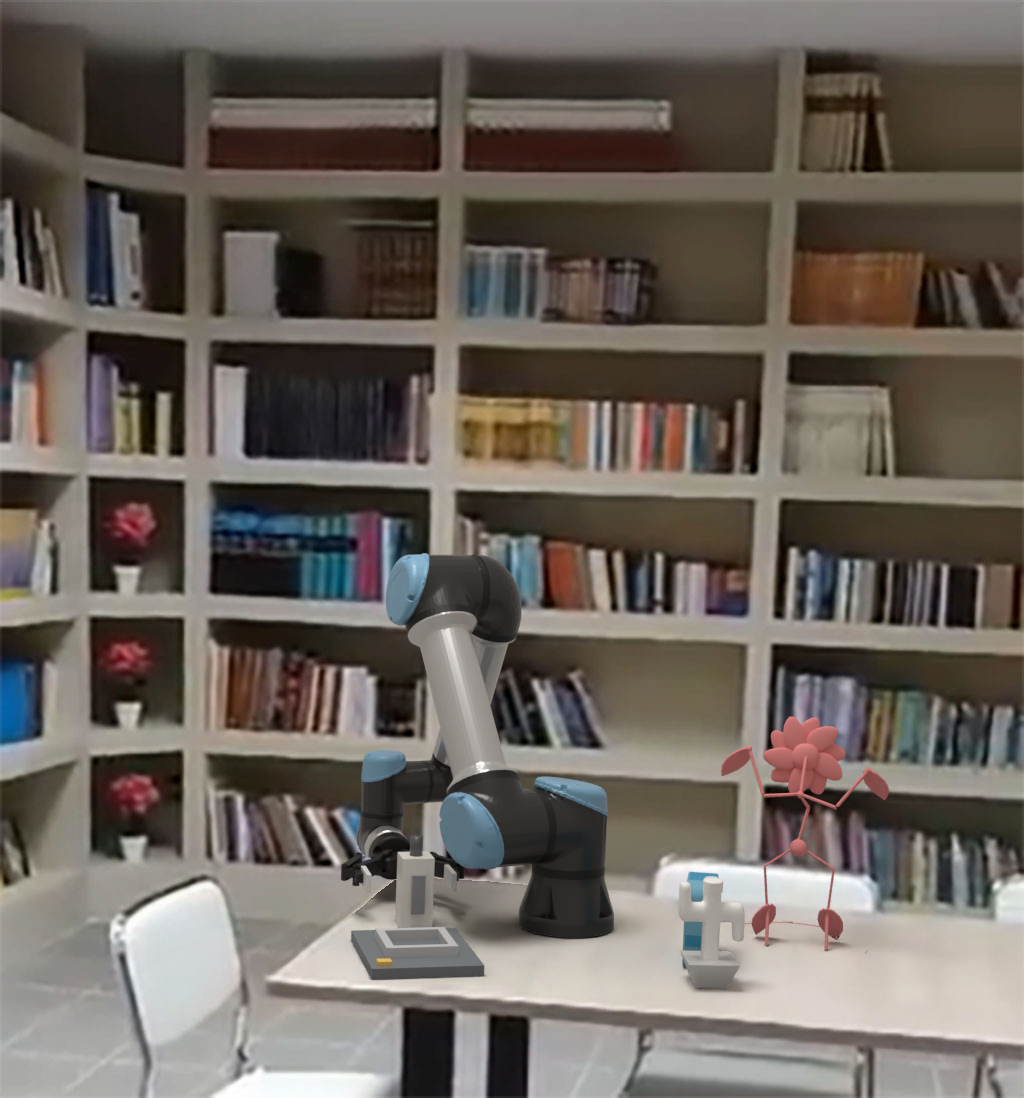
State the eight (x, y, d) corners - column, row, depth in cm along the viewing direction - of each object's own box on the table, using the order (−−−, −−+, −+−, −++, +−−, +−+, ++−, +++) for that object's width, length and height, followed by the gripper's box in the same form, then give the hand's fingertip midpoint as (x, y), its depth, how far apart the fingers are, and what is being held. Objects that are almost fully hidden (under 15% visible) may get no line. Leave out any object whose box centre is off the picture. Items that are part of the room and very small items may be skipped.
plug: (426, 920, 262) (429, 832, 262) (433, 930, 257) (436, 840, 256) (394, 921, 261) (398, 833, 261) (401, 930, 256) (404, 840, 255)
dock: (455, 937, 253) (455, 918, 253) (484, 975, 233) (484, 954, 233) (351, 940, 249) (351, 920, 249) (371, 979, 230) (372, 958, 229)
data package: (713, 971, 240) (716, 889, 240) (681, 969, 241) (685, 887, 240) (715, 949, 252) (718, 871, 252) (685, 947, 253) (688, 869, 252)
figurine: (746, 991, 231) (751, 885, 230) (680, 990, 230) (684, 883, 230) (735, 976, 238) (740, 873, 238) (671, 975, 237) (675, 871, 237)
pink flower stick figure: (883, 957, 251) (894, 728, 250) (712, 943, 255) (722, 717, 254) (877, 931, 266) (887, 715, 265) (716, 918, 271) (725, 705, 269)
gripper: (460, 873, 284) (488, 904, 263) (315, 876, 278) (332, 908, 257) (462, 830, 284) (490, 858, 263) (317, 832, 278) (333, 860, 257)
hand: (411, 883), depth 260 cm, fingers open, 13 cm apart
